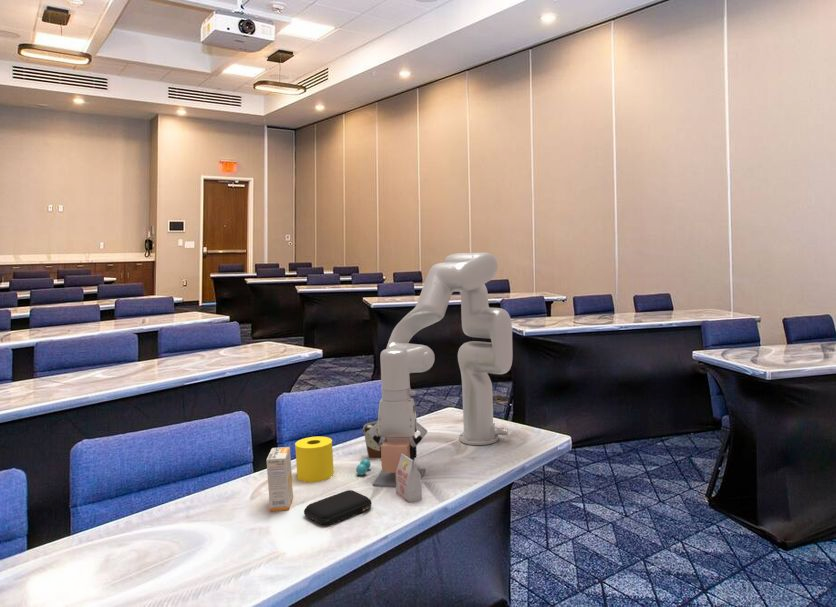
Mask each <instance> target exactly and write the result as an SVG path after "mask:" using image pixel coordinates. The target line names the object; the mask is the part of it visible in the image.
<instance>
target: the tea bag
mask: <svg viewBox="0 0 836 607" xmlns="http://www.w3.org/2000/svg"><path fill="white" fill-rule="evenodd" d="M417 468H418V467H417V466H416V464H415V461H413V460H412V459H410V458H408V457H407V456H405V455H404V454H402V453H401V454H400V457H399V461H398V464H397V467H396V470H395V476H396V487H395V489H396V490H395V491H396V492H395V493H396V495H398V496H399V497H401V498H402V499H403V500H405V501H406V502H408V503H412V502H416V501H420V500H423V494H422V493H423V492H422V479H421V475H420V473H419V471H418V470H417Z"/></svg>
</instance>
